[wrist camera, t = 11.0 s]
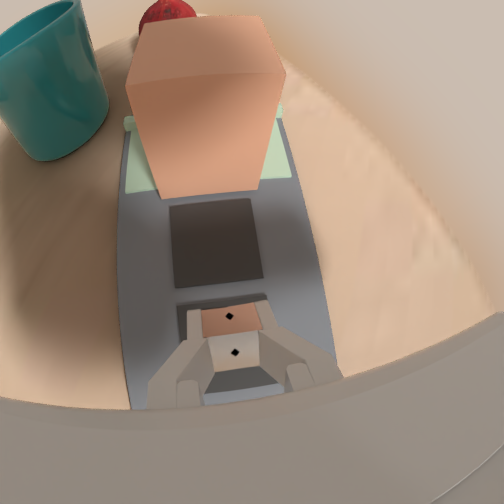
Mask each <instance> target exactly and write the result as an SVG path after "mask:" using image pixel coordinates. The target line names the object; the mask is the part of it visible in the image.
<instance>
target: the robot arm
mask: <svg viewBox="0 0 504 504" xmlns="http://www.w3.org/2000/svg"><path fill="white" fill-rule="evenodd" d="M254 366H260V367H261V368H262V369H263V370H265V371H266V372H267V373H268V374H269V375H270V376H272V377H273V378H274V379H275V380H276V381H277V382H279V383H280V384H281V385H282V386H283V387H284V393H282V394H277V395H272V396H267V397H261V398H256V399H250V400H243V401H237V402H230V403H223V404H214V405H206V406H205V402H204V399H203V395H204V393H205V391H206V389H207V387H208V385H209V383H210V382H211V380H212V378H213V376H214V374H215V372H220V371H226V370H232V369H239V368H246V367H254ZM0 504H504V312H497V313H495V314H493V315H491V316H489V317H488V318H486V319H484V320H482V321H481V322H479V323H477V324H475V325H473V326H471V327H469V328H468V329H466V330H464V331H462V332H460V333H458V334H456V335H454V336H452V337H449V338H447V339H445V340H443V341H441V342H439V343H437V344H434V345H432V346H430V347H428V348H425V349H423V350H421V351H418V352H416V353H413V354H411V355H408V356H406V357H403V358H401V359H398V360H396V361H393V362H390V363H387V364H385V365H382V366H379V367H376V368H373V369H370V370H367V371H364V372H361V373H358V374H355V375H352V376H348V377H345V378H344V377H343V375H342V373H341V371H340V370H339V368H338V366H337V364H336V362H335V360H334V358H333V357H332V355H331V354H330V353H328V352H326V351H324V350H322V349H321V348H319V347H317V346H315V345H314V344H312V343H310V342H308V341H306V340H305V339H303V338H301V337H299V336H298V335H296V334H294V333H293V332H291V331H289V330H287V329H286V328H284V327H278V325H277V322H276V320H275V317H274V315H273V312H272V310H271V307H270V305H269V302H268V301H267V300H261V301H256V302H252V303H246V304H239V305H232V306H222V307H213V308H203V309H195V310H188V311H187V340H184V341H182V343H181V344H180V345H179V346H178V347H177V349H176V350H175V351H174V352H173V353H172V354H171V356H170V357H169V358H168V359H167V360H166V362H165V363H164V364H163V365H162V366H161V368H160V369H159V370H158V371H157V372H156V373H155V375H154V376H153V377H152V378H151V379H150V381H149V382H148V393H147V408H146V409H142V410H116V409H90V408H76V407H65V406H56V405H47V404H40V403H33V402H27V401H22V400H16V399H11V398H6V397H1V396H0Z"/></svg>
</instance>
